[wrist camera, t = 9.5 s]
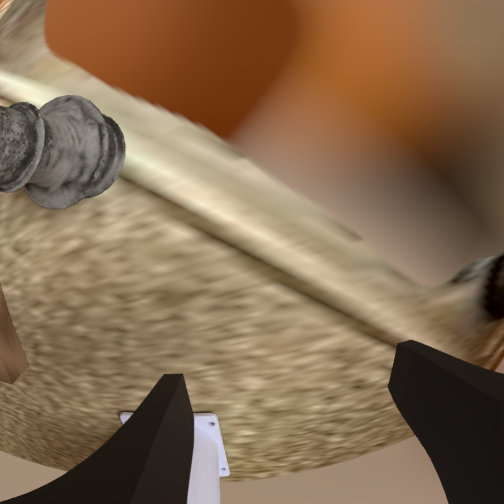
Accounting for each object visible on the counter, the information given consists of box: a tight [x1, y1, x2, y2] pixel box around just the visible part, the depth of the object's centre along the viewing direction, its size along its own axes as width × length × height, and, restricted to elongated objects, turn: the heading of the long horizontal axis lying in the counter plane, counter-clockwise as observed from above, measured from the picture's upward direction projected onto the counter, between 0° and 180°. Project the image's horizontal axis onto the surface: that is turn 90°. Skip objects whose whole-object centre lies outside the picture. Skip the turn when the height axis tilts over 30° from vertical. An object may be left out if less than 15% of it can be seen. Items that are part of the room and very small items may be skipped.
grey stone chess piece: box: [0, 95, 125, 210], centre depth 9 cm, size 6×6×12 cm
